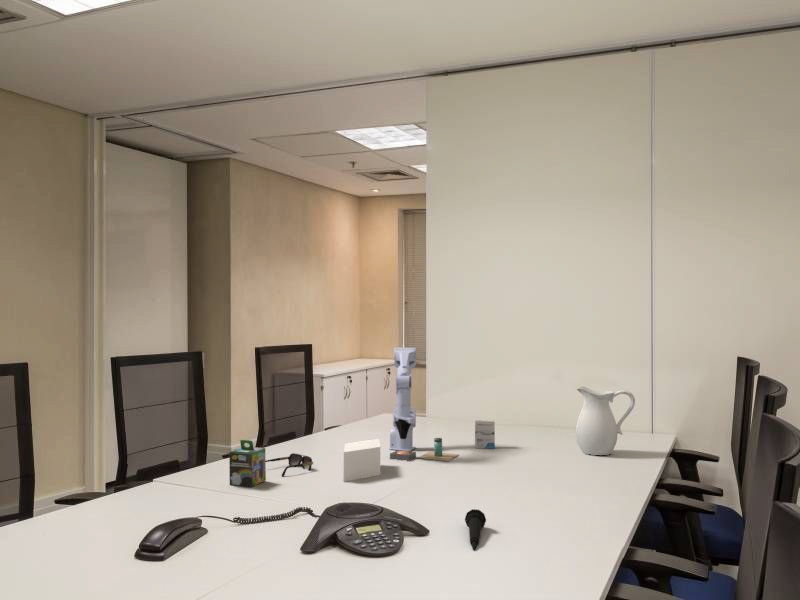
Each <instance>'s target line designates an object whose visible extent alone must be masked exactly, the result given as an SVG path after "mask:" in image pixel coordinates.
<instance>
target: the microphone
mask: <svg viewBox="0 0 800 600" xmlns="http://www.w3.org/2000/svg"><path fill="white" fill-rule="evenodd" d="M464 522H465V525H466V526H467V527H468V531H469V532H468V533H469V543H470V545H471V548H472V551H476V549H477V546H479V544H480V539H481V532H482V528H484V527H485V524H486V522H487V518H486V514H485V513H484V512H483V511H481V510H480V509H472V508H471V509H470V510H469V511H467V512H466V514H465V518H464Z"/></svg>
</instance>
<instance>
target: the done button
mask: <svg viewBox="0 0 800 600" xmlns="http://www.w3.org/2000/svg"><path fill="white" fill-rule="evenodd" d="M397 454H405V455H407V454H409V452H408V451H398V452H397Z"/></svg>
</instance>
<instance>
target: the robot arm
mask: <svg viewBox="0 0 800 600" xmlns="http://www.w3.org/2000/svg"><path fill="white" fill-rule="evenodd" d="M393 352H394V353H393V360H394V365H395V368H397V373H396V374H397V375H396V377H395V394H396V405H395V406H396V407H395V408H394V410H393V413H392V426H393V427H392V428H391V429H390V433H389V448H388V450H394V451H397V450H403V451H412V450H413V451H414V449H417V447H416V446H413V445H414V444H413V438H414V437H413V432H414V431H413V430H414V428H415V427H416V426H417V425H416V422H417V421H416V419H417V416H416V415H417V414H416V410H415V408H414V407H413V406H411V403H412V402H411V401H412V400H411V399H412V398H411V393H412V392H411V390H412V388H413V385H412V384H413V378H412V369H414V368H415V367H416V365H417V348H416V347H397V346H395V347H394V350H393Z"/></svg>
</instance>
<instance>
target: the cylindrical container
mask: <svg viewBox="0 0 800 600" xmlns="http://www.w3.org/2000/svg"><path fill="white" fill-rule="evenodd" d="M433 443H434V446H433V447H434V448H433V449H434V451H433V452H434V454H435V456H437V457H440V456H442V453H443V438H442V437H435V438H433Z"/></svg>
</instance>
